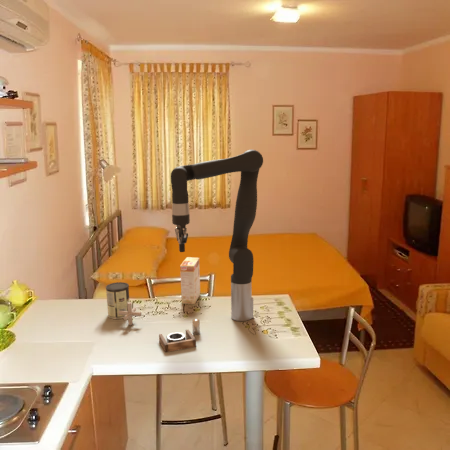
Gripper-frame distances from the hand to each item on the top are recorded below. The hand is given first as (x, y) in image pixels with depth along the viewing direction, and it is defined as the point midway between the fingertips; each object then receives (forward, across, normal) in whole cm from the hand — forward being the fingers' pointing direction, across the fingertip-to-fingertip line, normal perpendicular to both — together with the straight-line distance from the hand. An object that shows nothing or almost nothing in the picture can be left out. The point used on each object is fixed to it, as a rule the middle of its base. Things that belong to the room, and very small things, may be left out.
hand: (182, 251), depth 211 cm
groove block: (+31, -24, +10) cm, 40 cm away
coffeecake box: (+31, +22, -10) cm, 39 cm away
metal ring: (+31, -24, +10) cm, 40 cm away
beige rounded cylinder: (+31, -18, 0) cm, 36 cm away
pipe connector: (+31, +2, +24) cm, 39 cm away
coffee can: (+31, +15, +27) cm, 44 cm away
